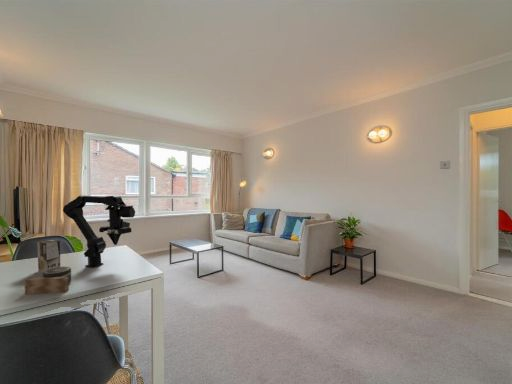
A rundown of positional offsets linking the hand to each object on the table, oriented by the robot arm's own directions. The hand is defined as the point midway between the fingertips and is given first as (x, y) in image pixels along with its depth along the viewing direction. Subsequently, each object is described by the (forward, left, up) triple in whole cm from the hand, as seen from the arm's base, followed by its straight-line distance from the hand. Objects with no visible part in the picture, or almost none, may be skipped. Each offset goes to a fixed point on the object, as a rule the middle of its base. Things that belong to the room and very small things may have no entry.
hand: (115, 244), depth 136 cm
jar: (0, -30, -12) cm, 32 cm away
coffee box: (-27, -18, -12) cm, 35 cm away
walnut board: (+3, -35, -12) cm, 37 cm away
